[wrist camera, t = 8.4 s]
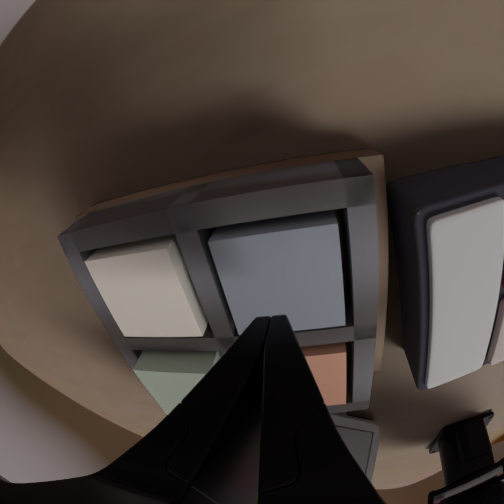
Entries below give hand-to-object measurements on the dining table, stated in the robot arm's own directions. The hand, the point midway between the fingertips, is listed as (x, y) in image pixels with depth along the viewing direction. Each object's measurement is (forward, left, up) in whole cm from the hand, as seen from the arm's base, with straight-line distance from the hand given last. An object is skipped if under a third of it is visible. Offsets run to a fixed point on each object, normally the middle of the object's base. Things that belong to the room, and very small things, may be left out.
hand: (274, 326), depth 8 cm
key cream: (0, +5, -4) cm, 7 cm away
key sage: (-6, +5, -3) cm, 8 cm away
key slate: (0, 0, -4) cm, 4 cm away
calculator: (-3, -13, -7) cm, 15 cm away
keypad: (-3, +3, -6) cm, 7 cm away
